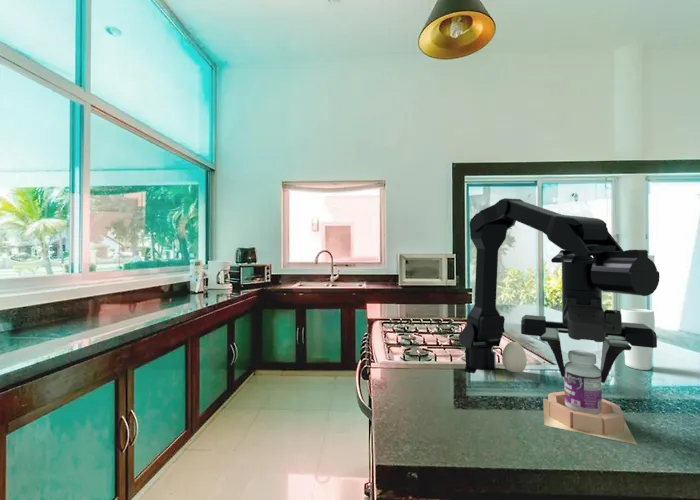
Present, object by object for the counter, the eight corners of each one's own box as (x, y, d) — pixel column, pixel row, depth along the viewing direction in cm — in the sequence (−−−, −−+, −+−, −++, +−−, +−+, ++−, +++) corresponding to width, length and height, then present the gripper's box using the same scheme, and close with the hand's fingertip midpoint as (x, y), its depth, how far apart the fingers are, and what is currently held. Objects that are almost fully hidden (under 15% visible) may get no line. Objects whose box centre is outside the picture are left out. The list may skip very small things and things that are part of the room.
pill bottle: (557, 402, 61) (556, 349, 61) (585, 401, 61) (583, 348, 61) (580, 417, 55) (579, 358, 55) (610, 415, 56) (609, 357, 56)
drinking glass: (662, 372, 84) (661, 312, 84) (631, 370, 85) (630, 311, 85) (644, 364, 90) (643, 308, 91) (615, 362, 92) (614, 307, 92)
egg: (503, 376, 81) (502, 343, 82) (501, 369, 87) (501, 338, 87) (528, 379, 80) (528, 345, 80) (525, 371, 85) (524, 340, 85)
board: (544, 431, 56) (544, 424, 56) (543, 403, 66) (543, 398, 66) (637, 451, 50) (637, 444, 50) (620, 417, 60) (620, 412, 60)
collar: (549, 424, 56) (549, 408, 56) (547, 400, 65) (547, 387, 65) (629, 440, 51) (628, 423, 51) (615, 412, 60) (615, 398, 60)
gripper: (519, 290, 56) (520, 384, 56) (668, 297, 47) (670, 410, 47) (522, 285, 66) (522, 365, 66) (645, 290, 57) (647, 383, 56)
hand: (582, 379), depth 58 cm, fingers closed on pill bottle, 5 cm apart
